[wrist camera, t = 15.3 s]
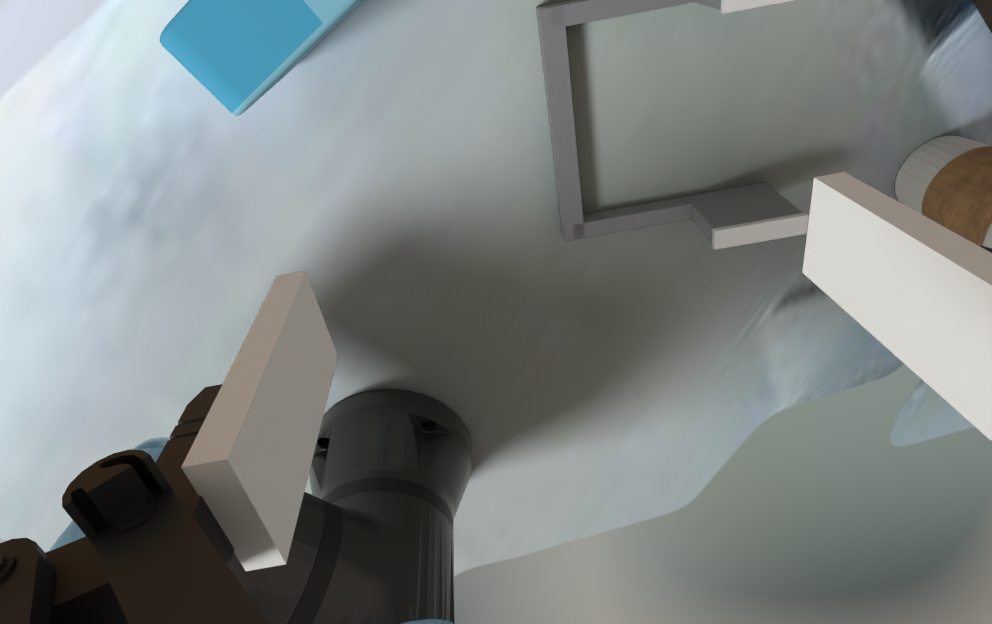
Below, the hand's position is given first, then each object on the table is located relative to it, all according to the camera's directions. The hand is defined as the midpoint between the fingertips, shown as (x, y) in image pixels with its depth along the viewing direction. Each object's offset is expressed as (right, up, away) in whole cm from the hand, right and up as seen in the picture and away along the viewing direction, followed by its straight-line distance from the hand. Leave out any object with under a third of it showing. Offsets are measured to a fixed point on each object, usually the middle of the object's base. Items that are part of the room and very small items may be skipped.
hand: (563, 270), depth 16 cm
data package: (-12, +19, +21) cm, 31 cm away
